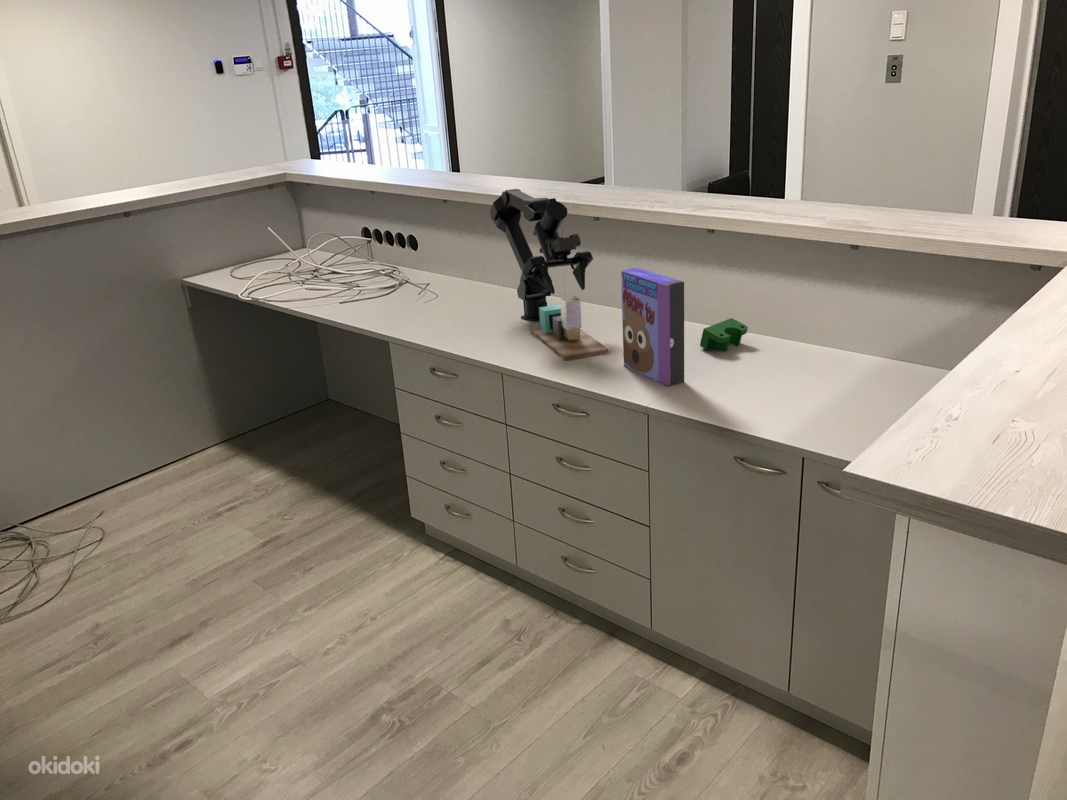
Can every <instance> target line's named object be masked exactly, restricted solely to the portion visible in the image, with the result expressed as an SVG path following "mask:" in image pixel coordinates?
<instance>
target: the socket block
mask: <svg viewBox="0 0 1067 800" xmlns="http://www.w3.org/2000/svg"><path fill="white" fill-rule="evenodd" d="M558 313H560V314H561V306H560V303H558V304H553V305H547V306H546V307H540V308H539V314H540V320H539V324H540V325H539V326H540V327H539V328H540V329H541V330H543V331H544V332H545V333H548V332H553V328H552V327H551V326H550V325H549V315H552V314H558Z"/></svg>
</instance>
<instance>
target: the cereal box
mask: <svg viewBox="0 0 1067 800" xmlns="http://www.w3.org/2000/svg"><path fill="white" fill-rule="evenodd" d="M620 277H621V279H620V280H621V281H620V284H621V315H622V318H621V319H622V340H623V341H622V346H623V347H622V349H623V350H622V351H623V353H622V354H623V367H625V368H626V369H629V370H631V371H633V372H635V373H638V374H639V375H642V376H644V377H646V378H647V379H650V380H652V381H654V380H655V381H654V382H656V383H658V382H659V383H658V384H660V383H661V384H660V385H662V384H663V385H662V386H665V387H667V388H669V387H672V385H673V386H676V385H679V383H680V384H683V383H685V281H682V280H679V279H676V278H673V277H671V276H670V277H669V276H666V275H662V274H660V273H656V272H653V271H650V270H647V269H643V268H640V267H631V268H627V269H623V270H621V271H620ZM682 382H683V383H682ZM675 384H676V385H675ZM668 386H669V387H668Z"/></svg>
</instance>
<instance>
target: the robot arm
mask: <svg viewBox="0 0 1067 800" xmlns="http://www.w3.org/2000/svg"><path fill="white" fill-rule="evenodd" d="M489 213H490V214H489V215H490V219H491V220H492V221H493V223H494V225H495V226H496V228H497V229H499V230H500V231H502V232H503V233H504V234H505V236H506V238H507V241H508V243H509V245H510V247H511V250H512V252H513V254H514V257H515V259H516V261H517V264H518V267H519V269H520V271H521V274H520V279H519V285H518V287H517V289H516V293H517V298H519V299H520V300H522V302H523V303H522V304H523V315H521V316H520V318H521V319H523V320H529V321H534V322H540V314H539V308H540V307H546V306H548V302H547V297H551V296H552V295H554V294H555V293H556V291H555V287H554V284H553V280H552V278H551V276H550V273H549V268H557V267H558V268H559V267H566V266H567V267H568V266H570V268H571V269H572V275H573V276H574V278H575V280H576V283H577V284H578V286H579V288H580V289H581V291H584V290H585V289H586V269H587V267H588V266H589V265H590V264H591V263H592V262H593V260H594V256H593V254H592V252H591V251H589V250H583V251H576V253H575V254H574V255H573V257H569V256H570V255H571V254H572V252H571V251H573V250H576V249H577V248H578V247H580V246H581V238H580V236H579V234H578V233H574V234H570V235H569V236H568V237H562V236H561V237H560V233H559V230H560V228H561V227H562V225H563V224H564V221H565V219H566V218H567V216H568V208H567V206H565V205H564V204H563V203H562V202H560V201H557V198H556V197H555V198H554V197H553V198H552V197H551V198H548V197H534V196H532V195H530V194H527V193H526V192H523V191H522V190H521V189H519V188H512V189H505V190H504V191H502V192H501V195H500V196H499V197H498V198H496V200H495V201H493V202H492V205H491V207H490V210H489ZM522 213H523V217H524V218H525V220H526V221H528V222H529V223H533V222H536V224H535V225H534V228H533V236H536V239H537V241H538V243H539V246H540V248H539V253H540V254H543V255H537V256H534V254H533V252H532V249H531V248H530V246H529V243H528V241H527V238H526V237H525V234H524V232H523V228H521V225H520V221H521V217H522Z"/></svg>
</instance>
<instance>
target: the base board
mask: <svg viewBox="0 0 1067 800" xmlns="http://www.w3.org/2000/svg"><path fill="white" fill-rule="evenodd" d="M530 333H531V334H532V335H533V336H534V337H536V338H537V339H538V340H539V341H541V342H542V344H544V345H545V346H547V347H548V349H550V350H551V351H553V352H554V353H555V354H556V355H557V356H559V357H560V358H561V359H562V360H564V361H566V362H567V361H571V360H575V359H582V358H587V357H592V356H596V355H602V354H609V352H610V350H609V348H608V347H607V346H606V345H604V344H603V343H601V342H600V341H598V340H597V339H595V338H594V337H593V336H592V335H590V334H588V333H587V332H585V331H584V330H583V329H581V328H580V339H576V340H571V341H569V340H568V339H566V340H560V341H559V340H558V339H556V338H555V337H554V333H553V332H548V333H545V332H544V331H543V330H541V329H540V327H537V328H532V329H530Z"/></svg>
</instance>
